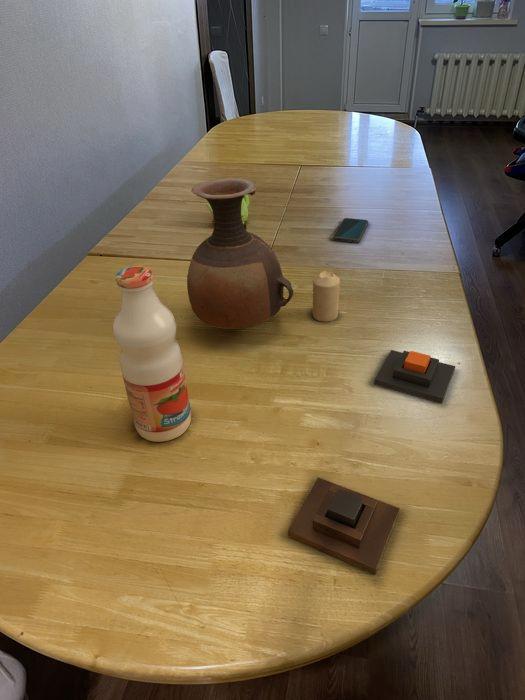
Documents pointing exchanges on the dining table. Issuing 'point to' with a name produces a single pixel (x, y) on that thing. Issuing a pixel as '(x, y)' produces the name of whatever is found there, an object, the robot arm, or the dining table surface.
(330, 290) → the candle
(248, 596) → the dining table surface
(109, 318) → the dining table surface
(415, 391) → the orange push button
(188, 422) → the fruit juice
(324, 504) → the brown flat stepped block
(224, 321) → the vase
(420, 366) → the enter key
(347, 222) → the smartphone
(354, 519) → the rocker switch
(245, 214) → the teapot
